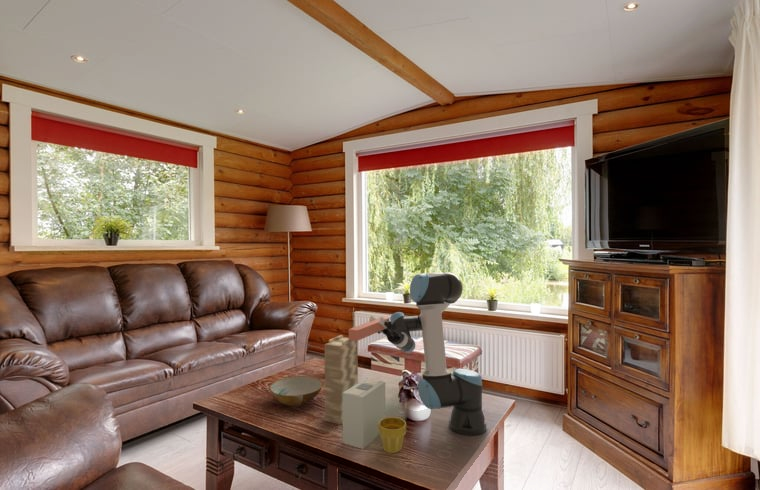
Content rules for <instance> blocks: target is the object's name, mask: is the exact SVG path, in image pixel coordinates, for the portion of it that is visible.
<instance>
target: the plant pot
mask: <svg viewBox="0 0 760 490" xmlns="http://www.w3.org/2000/svg"><path fill="white" fill-rule="evenodd" d="M406 433H407V422H406V421H405V420H404V418H403V419H402V418H401V417H396V416H387V417H385V418H383V419H382V420H380V421H379V435H380V438H381V443H382V447H383V450H384V451H385V453H389V454H397V453H399V452H400V451H401V450H402V447H403V441H404V437H405V435H406Z"/></svg>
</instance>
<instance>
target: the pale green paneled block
mask: <svg viewBox="0 0 760 490" xmlns="http://www.w3.org/2000/svg"><path fill="white" fill-rule="evenodd" d="M383 418H386V381H384V380H379V379H378V380H377V379H373V378H367V377H366V378H364V379H363V380H361V381H360V382H358V384H356V385H355V386H353V387H351V388H350V389H348V390H346V391H345V392H343V423H342V443H343V444H345V445H347V446H352V447H355V448H359V449H363V450H364V448H365V447H366V446H368V445H369V444H370V443H371V442H372V441H373V440H374V439H376V438H377V437H378V436H379V435H380V434H379V421H380V420H382V419H383Z"/></svg>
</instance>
